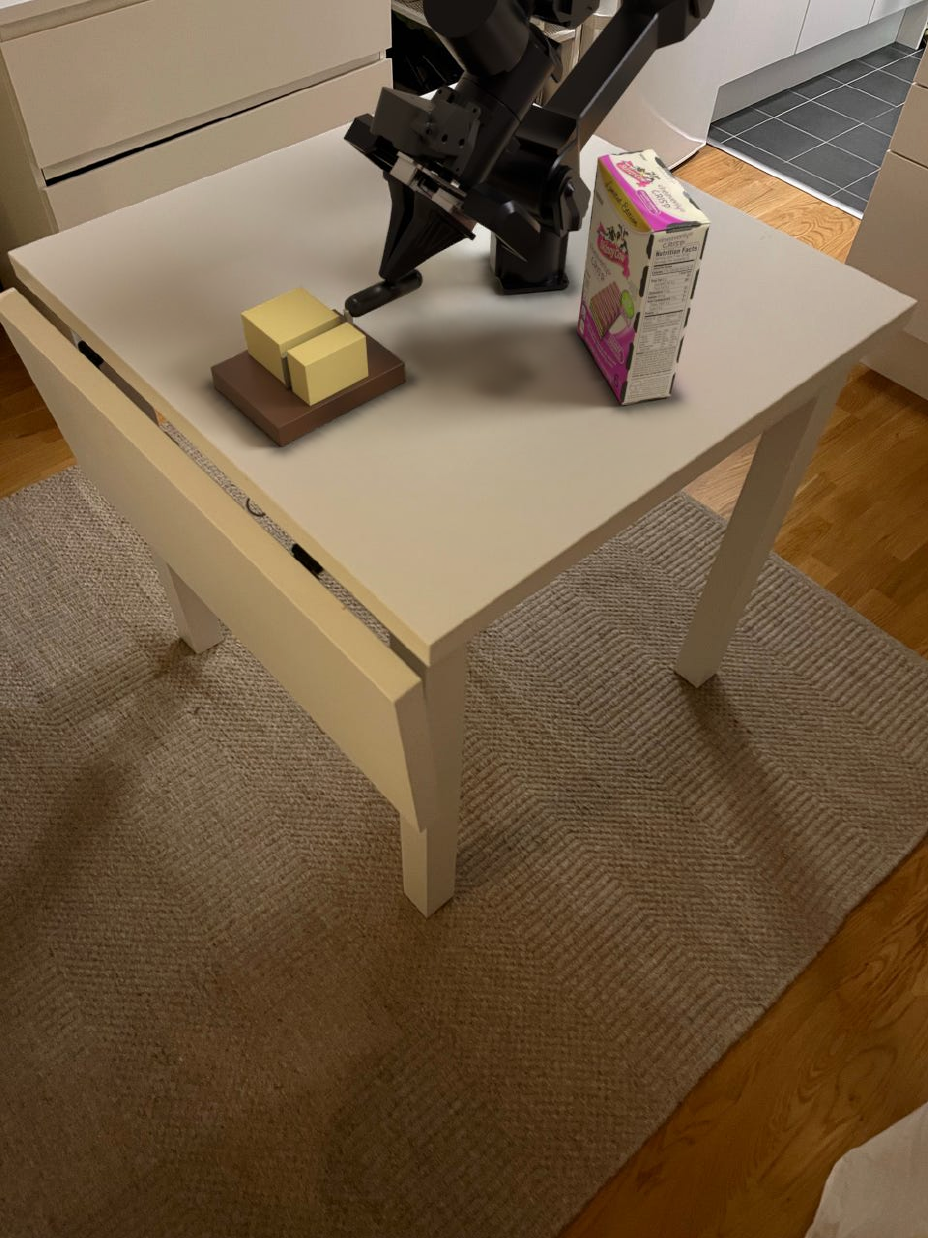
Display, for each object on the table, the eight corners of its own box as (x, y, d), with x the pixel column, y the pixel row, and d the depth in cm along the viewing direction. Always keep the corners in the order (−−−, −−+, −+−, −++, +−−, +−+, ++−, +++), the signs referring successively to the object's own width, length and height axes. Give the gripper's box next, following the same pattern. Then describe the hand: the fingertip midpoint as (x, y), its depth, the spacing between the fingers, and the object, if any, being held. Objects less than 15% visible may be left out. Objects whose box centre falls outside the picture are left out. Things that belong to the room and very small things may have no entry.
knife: (414, 315, 85) (413, 260, 81) (427, 324, 84) (427, 270, 80) (280, 381, 79) (271, 327, 75) (292, 392, 79) (284, 338, 74)
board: (336, 327, 88) (334, 308, 86) (405, 381, 83) (405, 362, 82) (214, 386, 82) (209, 367, 81) (281, 447, 78) (277, 428, 76)
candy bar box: (572, 331, 88) (594, 153, 75) (623, 322, 89) (654, 145, 76) (618, 409, 81) (651, 228, 68) (672, 399, 82) (715, 219, 69)
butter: (305, 326, 84) (300, 285, 81) (368, 376, 80) (365, 335, 77) (248, 353, 82) (240, 312, 79) (310, 406, 78) (304, 366, 75)
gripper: (354, 0, 72) (252, 189, 76) (524, 87, 64) (399, 294, 68) (434, 82, 82) (339, 246, 86) (592, 167, 73) (478, 345, 77)
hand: (384, 279), depth 79 cm, fingers closed, pressing on knife
